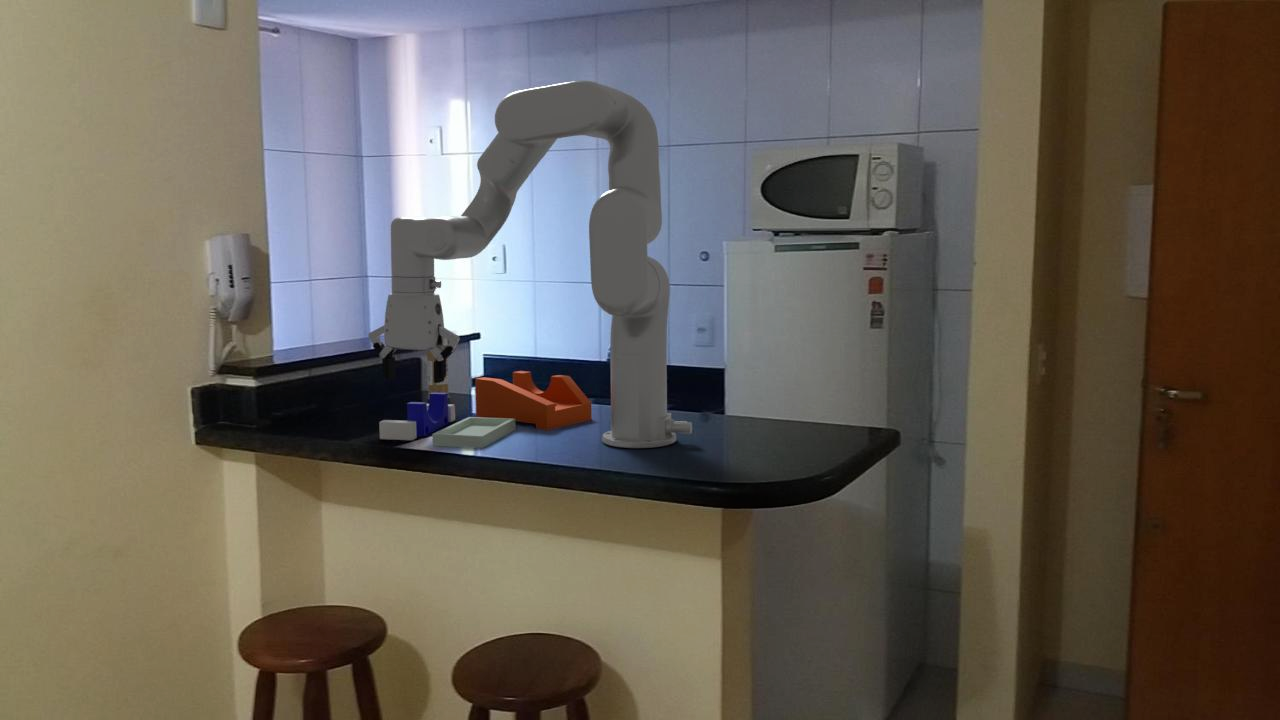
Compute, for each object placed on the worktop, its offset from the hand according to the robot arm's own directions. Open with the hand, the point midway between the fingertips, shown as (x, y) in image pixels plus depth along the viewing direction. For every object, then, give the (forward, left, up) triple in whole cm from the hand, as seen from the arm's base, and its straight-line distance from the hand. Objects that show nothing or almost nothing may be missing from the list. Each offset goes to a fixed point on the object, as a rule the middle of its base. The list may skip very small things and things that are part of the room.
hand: (414, 380), depth 193 cm
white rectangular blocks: (-1, 0, -9) cm, 9 cm away
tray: (-14, +5, -9) cm, 17 cm away
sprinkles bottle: (+9, -31, -9) cm, 34 cm away
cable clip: (-2, 0, -9) cm, 9 cm away
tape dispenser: (-18, -13, -10) cm, 24 cm away
